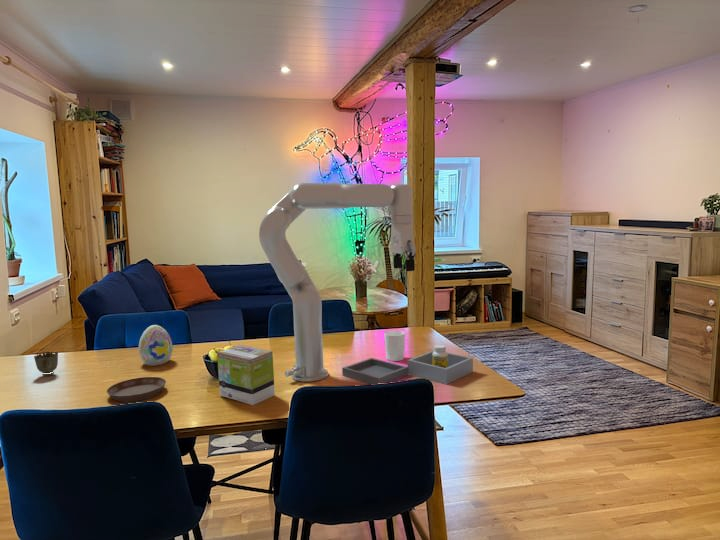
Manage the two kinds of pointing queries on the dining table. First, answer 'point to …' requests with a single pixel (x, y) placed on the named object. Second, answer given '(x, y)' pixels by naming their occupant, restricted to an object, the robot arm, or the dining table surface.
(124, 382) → the plant saucer
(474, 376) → the dining table surface
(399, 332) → the white cup
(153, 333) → the decorative egg
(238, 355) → the tea box
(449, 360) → the gray square frame
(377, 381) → the tray
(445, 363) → the supplement bottle
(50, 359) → the cup
